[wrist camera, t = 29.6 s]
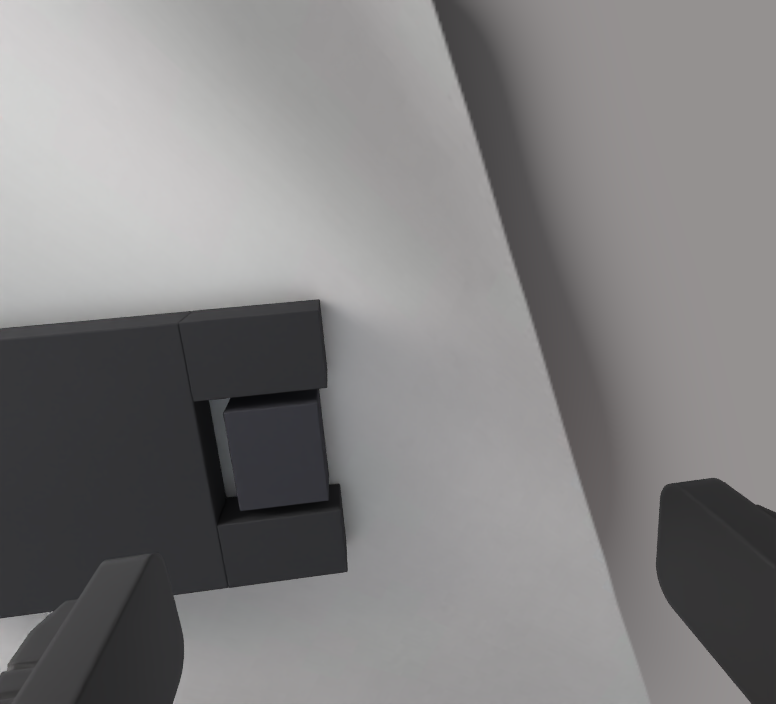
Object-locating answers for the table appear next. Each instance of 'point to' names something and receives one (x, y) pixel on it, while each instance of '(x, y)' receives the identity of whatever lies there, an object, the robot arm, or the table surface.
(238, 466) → the small black box
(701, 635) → the robot arm
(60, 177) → the table surface
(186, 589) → the big notched pad
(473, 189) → the table surface
